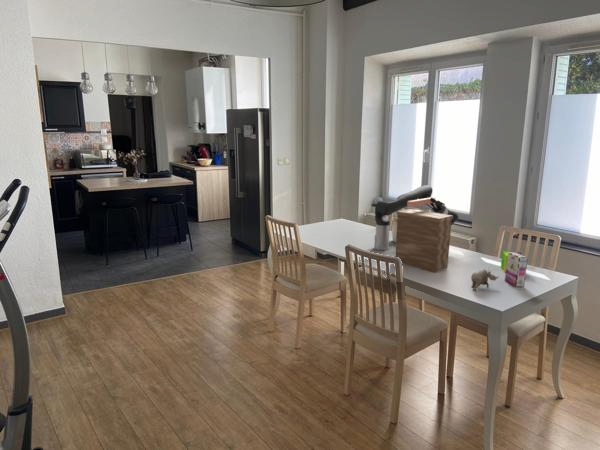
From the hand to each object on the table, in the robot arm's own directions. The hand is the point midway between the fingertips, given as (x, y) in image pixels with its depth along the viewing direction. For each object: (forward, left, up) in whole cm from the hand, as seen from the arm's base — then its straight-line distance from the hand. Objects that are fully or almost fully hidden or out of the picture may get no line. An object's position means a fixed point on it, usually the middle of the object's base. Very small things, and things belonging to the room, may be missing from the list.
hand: (428, 198), depth 276 cm
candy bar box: (+49, -34, -39) cm, 71 cm away
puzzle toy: (+51, -8, -39) cm, 65 cm away
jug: (-18, +40, -39) cm, 59 cm away
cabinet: (-1, -16, -39) cm, 42 cm away
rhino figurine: (+31, -47, -39) cm, 69 cm away
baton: (-4, -7, -3) cm, 8 cm away
